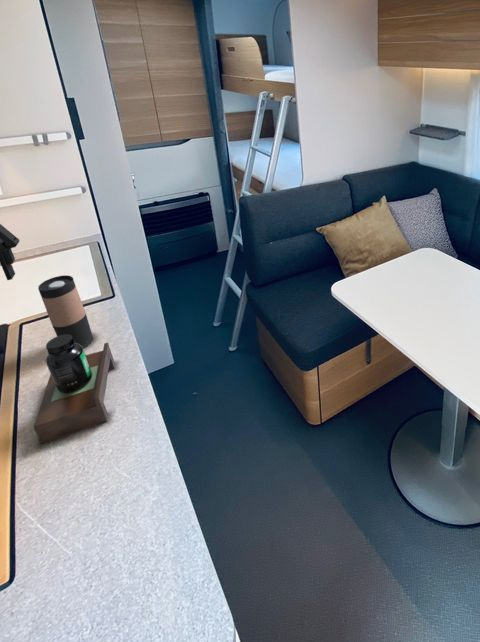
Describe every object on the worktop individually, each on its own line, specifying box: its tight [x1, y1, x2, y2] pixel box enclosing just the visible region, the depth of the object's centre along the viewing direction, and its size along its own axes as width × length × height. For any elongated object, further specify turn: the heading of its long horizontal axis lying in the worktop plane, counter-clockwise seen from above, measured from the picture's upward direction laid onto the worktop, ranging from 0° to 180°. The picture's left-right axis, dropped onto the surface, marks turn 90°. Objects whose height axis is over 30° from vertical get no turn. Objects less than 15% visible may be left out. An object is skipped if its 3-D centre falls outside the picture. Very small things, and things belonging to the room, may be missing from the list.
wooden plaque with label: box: [33, 342, 116, 444], centre depth 95 cm, size 12×20×7 cm, turn 26°
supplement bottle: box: [45, 334, 92, 393], centre depth 92 cm, size 7×7×12 cm
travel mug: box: [37, 274, 94, 349], centre depth 111 cm, size 8×8×20 cm
